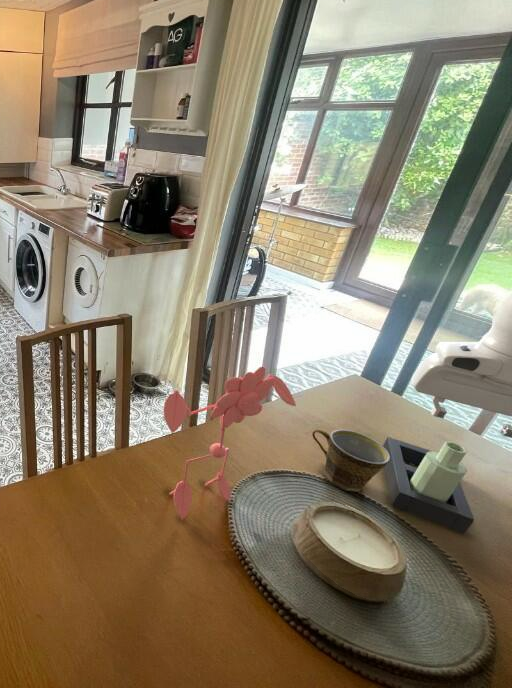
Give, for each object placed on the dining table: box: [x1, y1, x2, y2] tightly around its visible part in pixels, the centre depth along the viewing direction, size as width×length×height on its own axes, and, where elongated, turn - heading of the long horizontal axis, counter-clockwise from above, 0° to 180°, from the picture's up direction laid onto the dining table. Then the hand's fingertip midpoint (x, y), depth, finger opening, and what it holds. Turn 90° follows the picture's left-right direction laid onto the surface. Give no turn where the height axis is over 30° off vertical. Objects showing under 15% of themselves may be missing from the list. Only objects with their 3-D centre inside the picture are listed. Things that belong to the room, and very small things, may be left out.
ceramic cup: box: [311, 429, 390, 493], centre depth 90 cm, size 13×10×10 cm
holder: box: [382, 436, 475, 534], centre depth 89 cm, size 11×20×4 cm, turn 145°
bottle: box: [409, 441, 468, 503], centre depth 83 cm, size 6×6×15 cm
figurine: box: [144, 365, 297, 551], centre depth 75 cm, size 15×26×35 cm, turn 106°
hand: (470, 425), depth 78 cm, fingers open, 8 cm apart
